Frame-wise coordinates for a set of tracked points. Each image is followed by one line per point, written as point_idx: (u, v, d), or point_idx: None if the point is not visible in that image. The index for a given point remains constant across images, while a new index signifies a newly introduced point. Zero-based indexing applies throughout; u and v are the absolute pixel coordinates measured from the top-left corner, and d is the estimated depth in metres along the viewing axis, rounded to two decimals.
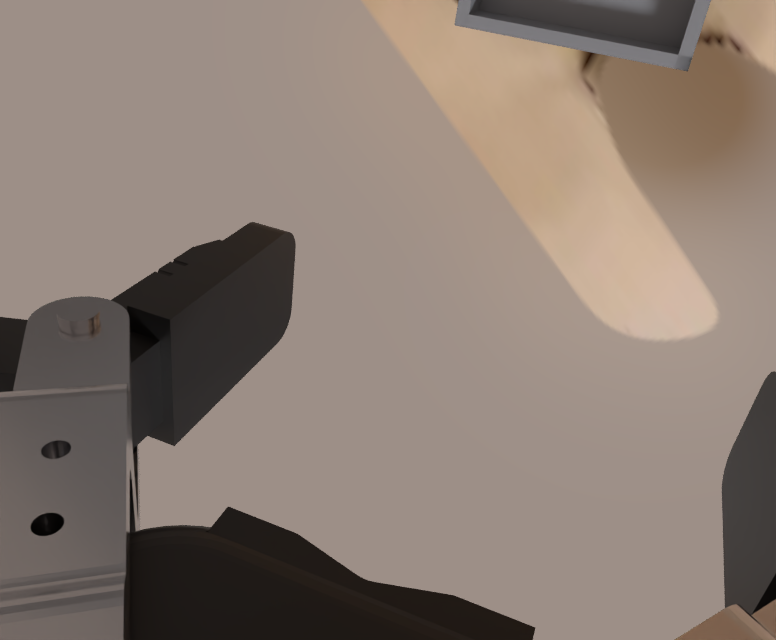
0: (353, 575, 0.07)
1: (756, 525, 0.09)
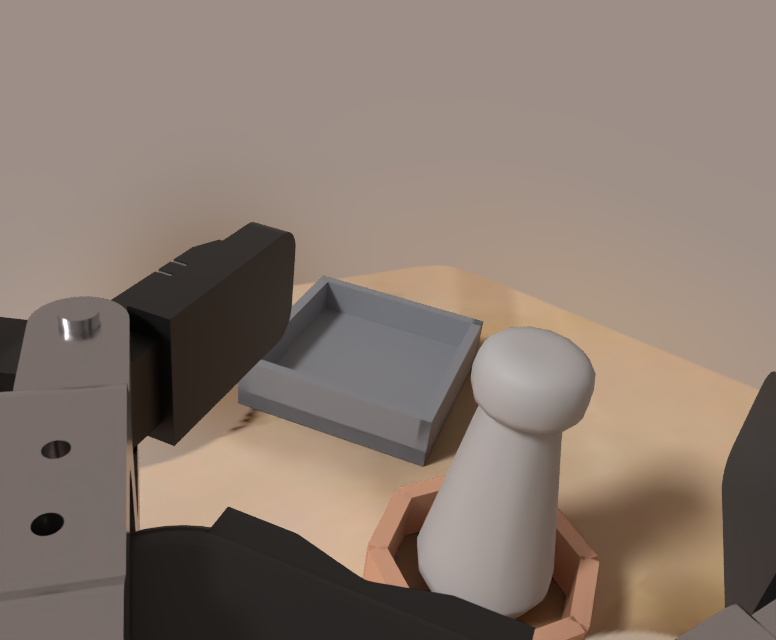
0: (351, 575, 0.07)
1: (756, 525, 0.09)
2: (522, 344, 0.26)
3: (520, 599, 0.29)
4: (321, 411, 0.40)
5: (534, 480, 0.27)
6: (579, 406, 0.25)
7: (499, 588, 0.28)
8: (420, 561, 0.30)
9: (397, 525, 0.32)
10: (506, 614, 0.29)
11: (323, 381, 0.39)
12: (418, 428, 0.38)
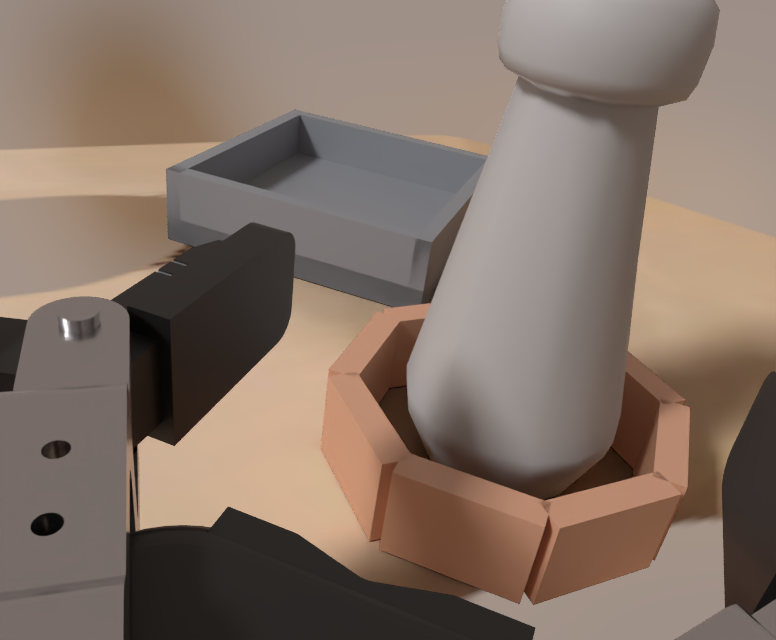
0: (353, 575, 0.07)
1: (756, 525, 0.09)
2: None
3: (572, 441, 0.18)
4: None
5: (606, 214, 0.16)
6: (697, 45, 0.14)
7: (539, 416, 0.17)
8: (410, 392, 0.19)
9: (376, 350, 0.21)
10: (549, 467, 0.18)
11: (281, 195, 0.28)
12: (413, 253, 0.27)
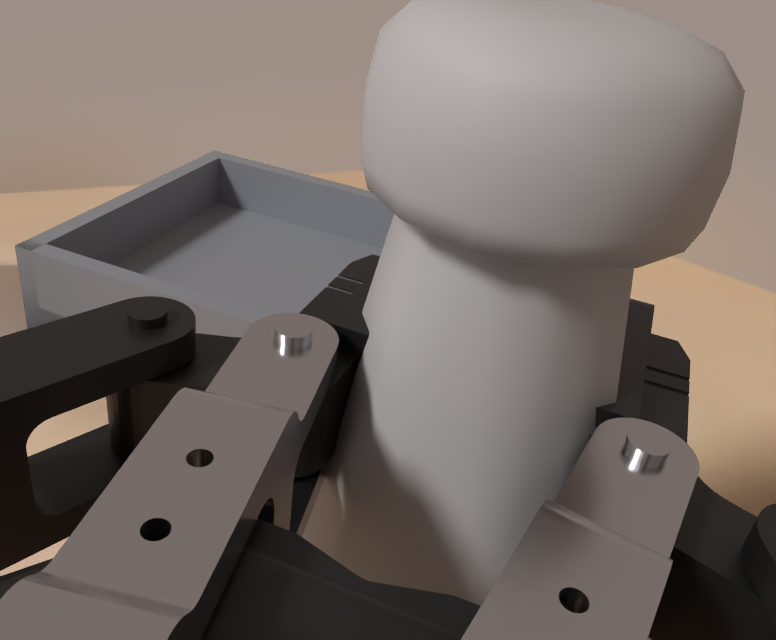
0: (351, 575, 0.07)
1: None
2: None
3: None
4: None
5: (547, 436, 0.09)
6: (704, 167, 0.07)
7: None
8: None
9: None
10: None
11: (159, 283, 0.22)
12: None
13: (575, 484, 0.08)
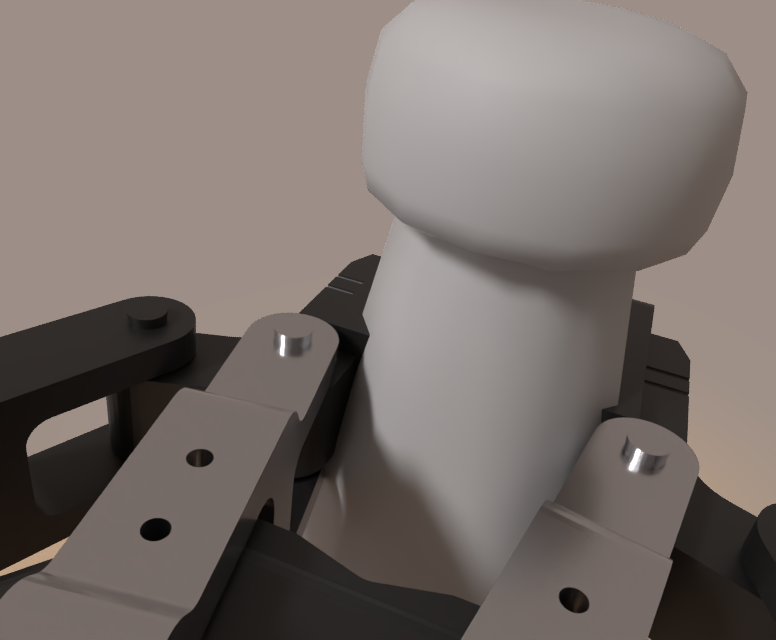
0: (351, 574, 0.07)
1: None
2: None
3: None
4: None
5: (548, 439, 0.09)
6: (707, 169, 0.07)
7: None
8: None
9: None
10: None
11: None
12: None
13: (575, 484, 0.08)
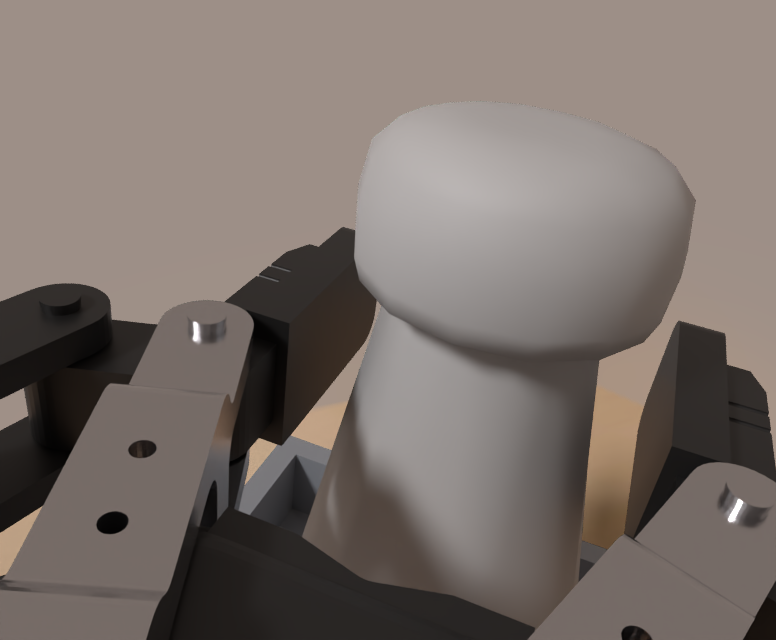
0: (351, 574, 0.07)
1: (650, 453, 0.10)
2: (489, 114, 0.09)
3: None
4: None
5: (521, 505, 0.10)
6: (655, 275, 0.08)
7: None
8: None
9: None
10: None
11: None
12: None
13: (679, 540, 0.07)
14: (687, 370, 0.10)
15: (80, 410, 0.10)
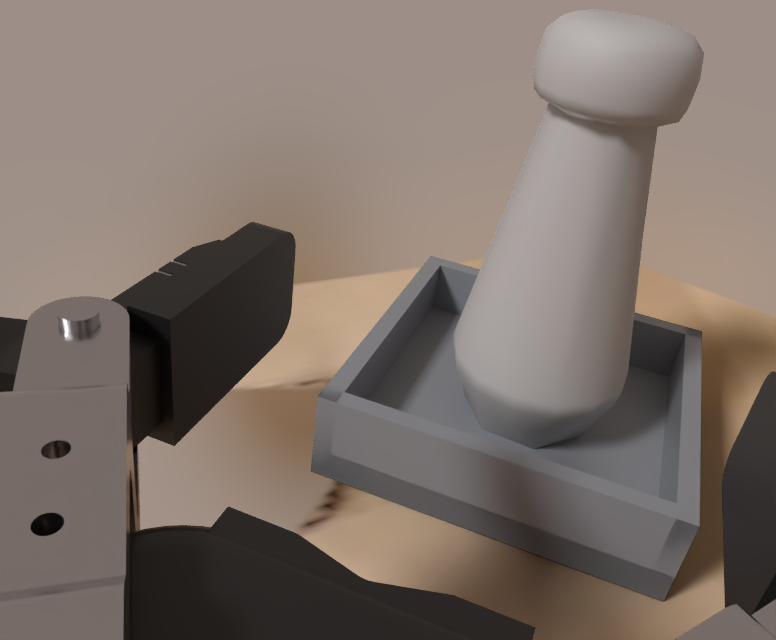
0: (353, 574, 0.07)
1: (756, 525, 0.09)
2: (606, 13, 0.19)
3: (589, 388, 0.22)
4: (469, 494, 0.22)
5: (617, 209, 0.20)
6: (685, 82, 0.19)
7: (564, 367, 0.22)
8: (459, 353, 0.24)
9: None
10: (571, 410, 0.23)
11: (476, 440, 0.21)
12: (669, 534, 0.20)
13: None
14: None
15: None
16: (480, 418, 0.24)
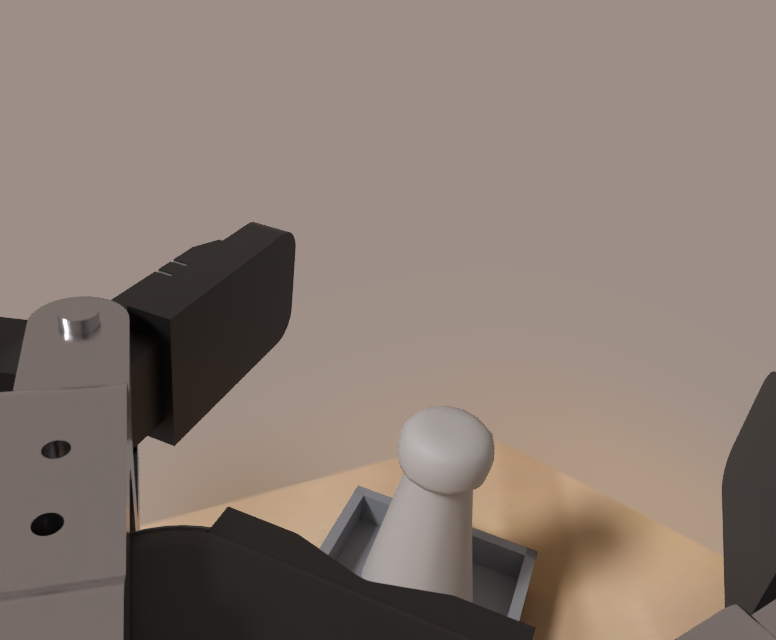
0: (351, 574, 0.07)
1: (756, 525, 0.09)
2: (436, 423, 0.33)
3: None
4: None
5: (447, 530, 0.34)
6: (478, 474, 0.32)
7: None
8: None
9: None
10: None
11: None
12: None
13: None
14: None
15: None
16: None
